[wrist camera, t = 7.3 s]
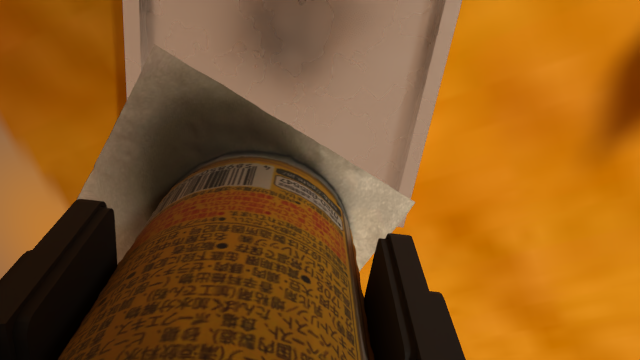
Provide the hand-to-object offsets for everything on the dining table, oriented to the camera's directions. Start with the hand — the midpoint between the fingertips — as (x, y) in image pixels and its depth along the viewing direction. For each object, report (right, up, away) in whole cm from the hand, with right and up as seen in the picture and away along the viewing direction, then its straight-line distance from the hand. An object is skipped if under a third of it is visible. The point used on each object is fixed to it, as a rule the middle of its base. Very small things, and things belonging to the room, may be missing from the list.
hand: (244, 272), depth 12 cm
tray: (0, +8, +16) cm, 18 cm away
